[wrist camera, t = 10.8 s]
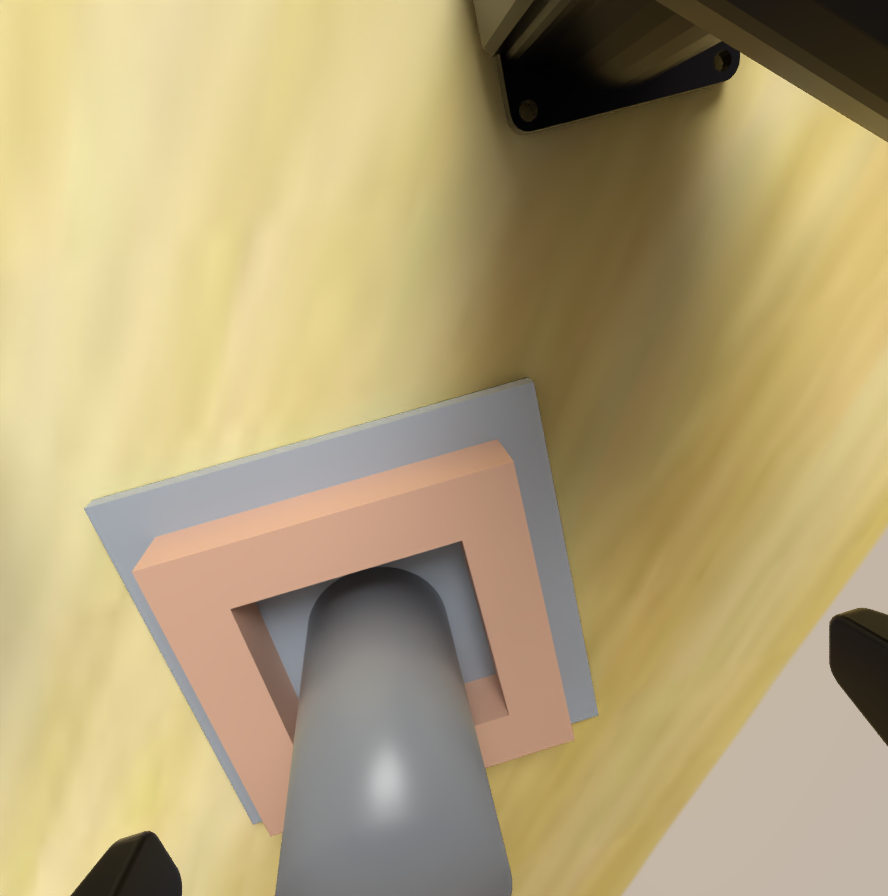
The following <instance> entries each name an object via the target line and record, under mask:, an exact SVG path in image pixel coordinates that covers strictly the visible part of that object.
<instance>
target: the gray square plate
mask: <svg viewBox="0 0 888 896" xmlns="http://www.w3.org/2000/svg"><path fill="white" fill-rule="evenodd" d="M84 510H85V512H86V513H87V515H88V517H89V519H90V521H91V523H92V525H93V526H94V528H95V530H96V532H97V534H98V536H99V538H100V540H101V541H102V543H103V545H104V547H105V549H106V551H107V553H108V554H109V556H110V558H111V560H112V562H113V564H114V566H115V568H116V569H117V571H118V573H119V575H120V577H121V579H122V581H123V582H124V584H125V586H126V588H127V590H128V592H129V594H130V596H131V597H132V599H133V601H134V603H135V605H136V607H137V609H138V611H139V612H140V614H141V616H142V618H143V620H144V622H145V624H146V625H147V627H148V629H149V631H150V633H151V635H152V637H153V639H154V640H155V642H156V644H157V646H158V648H159V650H160V652H161V653H162V655H163V657H164V659H165V661H166V663H167V665H168V667H169V668H170V670H171V672H172V674H173V676H174V678H175V680H176V681H177V683H178V685H179V687H180V689H181V691H182V693H183V695H184V696H185V698H186V700H187V702H188V704H189V706H190V708H191V710H192V711H193V713H194V715H195V717H196V719H197V721H198V723H199V724H200V726H201V728H202V730H203V732H204V734H205V736H206V738H207V739H208V741H209V743H210V745H211V747H212V749H213V751H214V752H215V754H216V756H217V758H218V760H219V762H220V764H221V766H222V767H223V769H224V771H225V773H226V775H227V777H228V779H229V780H230V782H231V784H232V786H233V788H234V790H235V792H236V794H237V795H238V797H239V799H240V801H241V803H242V805H243V807H244V809H245V810H246V812H247V814H248V816H249V818H250V820H251V822H252V823H253V824H256V823H259V822H262V821H263V823H264V825H265V827H266V829H267V831H268V832H269V834H270V836H273V835H277V834H280V833H283V827H284V818H285V810H286V802H287V793H288V785H289V777H290V768H291V760H292V752H293V744H294V735H295V727H296V719H297V710H298V702H299V694H300V685H301V677H302V669H303V661H304V652H305V644H306V636H307V627H308V621H309V616H310V613H311V610H312V608H313V606H314V604H315V602H316V600H317V599H318V598H319V596H320V595H321V594H322V593H323V592H324V590H325V589H326V588H327V587H329V586H330V585H331V584H332V583H333V582H335V581H336V580H338V579H340V578H341V577H343V576H345V575H347V574H351V573H354V572H358V571H361V570H364V569H368V568H372V567H392V568H398V569H403V570H406V571H409V572H412V573H414V574H416V575H418V576H420V577H421V578H423V579H424V580H426V581H427V582H428V583H429V584H431V585H432V586H433V587H434V589H435V590H436V591H437V592H438V594H439V595H440V597H441V599H442V600H443V603H444V606H445V609H446V613H447V617H448V621H449V625H450V629H451V633H452V637H453V641H454V645H455V649H456V653H457V657H458V661H459V665H460V669H461V673H462V677H463V681H464V685H465V689H466V693H467V697H468V701H469V705H470V709H471V713H472V717H473V721H474V726H475V730H476V734H477V738H478V742H479V746H480V750H481V754H482V758H483V762H484V766H485V768H488V767H491V766H494V765H497V764H500V763H503V762H507V761H510V760H513V759H516V758H519V757H522V756H525V755H529V754H532V753H535V752H538V751H541V750H544V749H548V748H551V747H554V746H557V745H560V744H563V743H566V742H570V741H573V740H575V739H574V735H573V730H572V726H571V724H572V723H576V722H579V721H582V720H585V719H588V718H591V717H595V716H598V710H597V705H596V699H595V694H594V689H593V684H592V679H591V674H590V669H589V663H588V658H587V653H586V648H585V643H584V638H583V633H582V627H581V622H580V617H579V612H578V607H577V602H576V597H575V591H574V586H573V581H572V576H571V571H570V566H569V561H568V555H567V550H566V545H565V540H564V535H563V530H562V524H561V519H560V514H559V509H558V504H557V499H556V494H555V488H554V483H553V478H552V473H551V468H550V463H549V458H548V452H547V447H546V442H545V437H544V432H543V427H542V422H541V416H540V411H539V406H538V401H537V396H536V391H535V386H534V381H532V380H531V379H530V378H524V379H521V380H517V381H514V382H510V383H506V384H503V385H499V386H496V387H492V388H489V389H485V390H482V391H478V392H475V393H471V394H467V395H464V396H460V397H457V398H453V399H450V400H446V401H443V402H439V403H436V404H432V405H428V406H425V407H421V408H418V409H414V410H411V411H407V412H404V413H400V414H397V415H393V416H389V417H386V418H382V419H379V420H375V421H372V422H368V423H365V424H361V425H357V426H354V427H350V428H347V429H343V430H340V431H336V432H333V433H329V434H326V435H322V436H318V437H315V438H311V439H308V440H304V441H301V442H297V443H294V444H290V445H287V446H283V447H279V448H276V449H272V450H269V451H265V452H262V453H258V454H255V455H251V456H248V457H244V458H240V459H237V460H233V461H230V462H226V463H223V464H219V465H216V466H212V467H209V468H205V469H201V470H198V471H194V472H191V473H187V474H184V475H180V476H177V477H173V478H170V479H166V480H162V481H159V482H155V483H152V484H148V485H145V486H141V487H138V488H134V489H131V490H127V491H123V492H120V493H116V494H113V495H109V496H106V497H102V498H99V499H95V500H92V501H91V502H90V503H89V504H88V505H87V506H86V507H85V508H84Z"/></svg>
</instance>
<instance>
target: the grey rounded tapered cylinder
mask: <svg viewBox="0 0 888 896" xmlns="http://www.w3.org/2000/svg"><path fill="white" fill-rule="evenodd" d="M511 893H512V876H511V871H510V866H509V862H508V858H507V854H506V850H505V846H504V842H503V838H502V834H501V830H500V826H499V822H498V818H497V814H496V810H495V806H494V802H493V798H492V794H491V790H490V786H489V782H488V778H487V774H486V770H485V766H484V762H483V758H482V754H481V750H480V746H479V742H478V738H477V734H476V730H475V726H474V721H473V717H472V713H471V709H470V705H469V701H468V697H467V693H466V689H465V685H464V681H463V677H462V673H461V669H460V665H459V661H458V657H457V653H456V649H455V645H454V641H453V637H452V633H451V629H450V625H449V621H448V617H447V613H446V609H445V606H444V603H443V600H442V599H441V597H440V595H439V594H438V592H437V591H436V590H435V589H434V587H433V586H432V585H431V584H429V583H428V582H427V581H426V580H424V579H423V578H421V577H420V576H418V575H416V574H414V573H412V572H409V571H406V570H403V569H398V568H392V567H372V568H368V569H364V570H361V571H358V572H354V573H351V574H347V575H345V576H343V577H341V578H340V579H338V580H336V581H335V582H333V583H332V584H331V585H330V586H329V587H327V588H326V589H325V590H324V592H323V593H322V594H321V595H320V596H319V598H318V599H317V600H316V602H315V604H314V606H313V608H312V610H311V613H310V616H309V621H308V627H307V636H306V644H305V652H304V661H303V669H302V677H301V685H300V694H299V702H298V710H297V719H296V727H295V735H294V744H293V752H292V760H291V768H290V777H289V785H288V793H287V802H286V810H285V818H284V827H283V835H282V843H281V851H280V860H279V868H278V876H277V885H276V893H275V896H511Z"/></svg>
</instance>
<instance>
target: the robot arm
mask: <svg viewBox="0 0 888 896" xmlns="http://www.w3.org/2000/svg"><path fill="white" fill-rule="evenodd" d="M473 3H474V8H475V13H476V19H477V24H478V29H479V35H480V40H481V45H482V48H483V49H484V50H485V51H486V52H487V53H488V54H489V55H490V56H494V55H495V56H496V62H497V67H498V73H499V78H500V84H501V89H502V95H503V100H504V106H505V111H506V117H507V120H508V123H509V126H510V127H511V128H512V129H513V130H514V131H515V132H517V133H519V134H530V133H534V132H538V131H541V130H545V129H549V128H553V127H557V126H561V125H565V124H568V123H572V122H576V121H580V120H584V119H588V118H592V117H595V116H599V115H603V114H607V113H611V112H615V111H619V110H622V109H626V108H630V107H634V106H638V105H642V104H646V103H649V102H653V101H657V100H661V99H665V98H669V97H673V96H676V95H680V94H684V93H688V92H692V91H696V90H700V89H703V88H707V87H711V86H715V85H717V84H720V83H722V82H724V81H726V80H728V79H730V78H731V77H732V76H733V75H734V74H735V73H736V71H737V68H738V66H739V61H740V52H741V53H743V54H744V55H746V56H747V57H749V58H751V59H752V60H754V61H756V62H757V63H759V64H761V65H762V66H764V67H765V68H767V69H769V70H770V71H772V72H774V73H775V74H777V75H779V76H780V77H782V78H783V79H785V80H787V81H788V82H790V83H792V84H793V85H795V86H797V87H798V88H800V89H801V90H803V91H805V92H806V93H808V94H810V95H811V96H813V97H815V98H816V99H818V100H819V101H821V102H823V103H824V104H826V105H828V106H829V107H831V108H833V109H834V110H836V111H837V112H839V113H841V114H842V115H844V116H846V117H847V118H849V119H851V120H852V121H854V122H856V123H857V124H859V125H860V126H862V127H864V128H865V129H867V130H869V131H870V132H872V133H874V134H875V135H877V136H878V137H880V138H882V139H883V140H885V141H887V142H888V0H473ZM716 54H717V55H719V56H720V57H721V58H722V62H723V65H722V69H721V71H718V70H717V69H715V66H714V57H715V56H716ZM522 103H527V104H529V105H530V106H531V107H532V109H533V118H532V120H531V121H530V122H529V121H524V120H523V119H522V118H521V116H520V114H519V107H520V105H521V104H522ZM829 663H830V668H831V671H832V673H833V676H834V677H835V679H836V681H837V682H838V684H839V685H840V686H841V688H842V689H843V690H844V691H845V693H846V694H847V695H848V697H849V698H850V699H851V700H852V702H853V703H854V704H855V705H856V707H857V708H858V709H859V710H860V712H861V713H862V714H863V716H864V717H865V718H866V719H867V721H868V722H869V723H870V724H871V726H872V727H873V728H874V729H875V731H876V732H877V733H878V735H880V737H881V738H882V740H883V741H884V742H885V743H886V745H887V746H888V615H887V614H884V613H880V612H877V611H874V610H871V609H867V608H857V609H854V610H850V611H847V612H844V613H841V614H838V615H835V616H834V617H833V618H832V619H831V621H830V625H829ZM71 896H182V881H181V876H180V873H179V870H178V868H177V867H176V865H175V864H174V862H173V860H172V859H171V857H170V856H169V854H168V852H167V851H166V849H165V848H164V846H163V845H162V843H161V841H160V840H159V838H158V837H157V835H156V834H155V833H153V832H151V831H144V832H141V833H138V834H135V835H132V836H129V837H125V838H122V839H120V840H118V841H116V842H115V843H114V844H113V845H112V846H111V847H110V848H109V849H108V850H107V851H106V853H105V854H104V855H103V856H102V858H101V859H100V860H99V861H98V862H97V864H96V865H95V866H94V867H93V869H92V870H91V871H90V872H89V873H88V875H87V876H86V877H85V878H84V880H83V881H82V882H81V883H80V885H79V886H78V887H77V888H76V889H75V891H74V892H73V893H72V894H71Z"/></svg>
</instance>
